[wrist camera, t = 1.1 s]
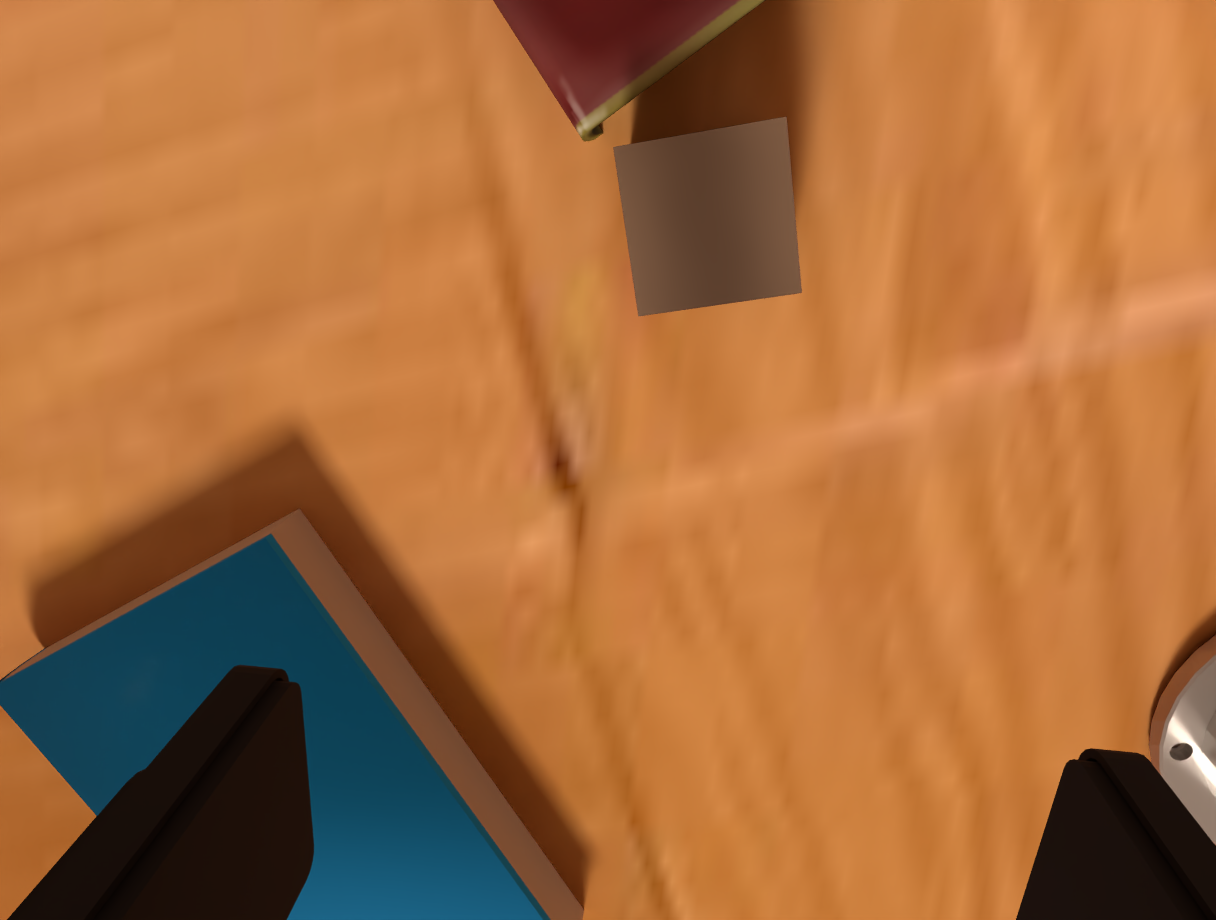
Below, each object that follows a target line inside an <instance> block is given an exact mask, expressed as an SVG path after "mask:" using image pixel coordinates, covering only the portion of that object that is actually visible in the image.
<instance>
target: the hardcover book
mask: <svg viewBox="0 0 1216 920" xmlns="http://www.w3.org/2000/svg"><path fill="white" fill-rule="evenodd" d="M493 1H494V2H495V4H496V5H497V7H498V8H499V10H500V12H501V13H502V15H503V16H504V18H505V19H506V21H507V23H508V24H509V26H510V27H511V29H512V30H513V32H514V33H515V35H516V37H517V38H518V40H519V41H520V43H521V44H522V46H523V48H524V49H525V51H526V52H527V54H528V55H529V57H530V58H531V60H532V62H533V63H534V65H535V66H536V68H537V69H538V71H539V73H540V74H541V76H542V77H543V79H544V80H545V82H546V83H547V85H548V87H549V88H550V90H551V91H552V93H553V94H554V96H555V98H556V99H557V101H558V102H559V104H560V105H561V107H562V108H563V110H564V112H565V113H566V115H567V116H568V118H569V119H570V121H571V123H572V124H573V126H574V127H575V129H576V130H577V132H578V133H579V135H580V137H581V138H582V140H583V141H591V140H594V139H596V138H597V137H598V136H600V135H601V134H603V132H602V130H601V129H600V127H599V124H600V123H602V122H603V121H604V120H606V119H607V118H608V117H610V116H611V115H612V114H614V113H615V112H616V111H618V110H619V109H620V108H622V107H623V106H624V105H626V104H627V103H628V102H630V101H631V100H632V99H634V98H635V97H636V96H638V95H639V94H640V93H642V92H643V91H645V90H646V89H647V88H649V87H650V86H651V85H653V84H654V83H655V82H657V81H658V80H659V79H661V78H662V77H663V76H665V75H666V74H667V73H669V72H670V71H671V70H673V69H674V68H675V67H677V66H678V65H679V64H681V63H682V62H683V61H685V60H686V59H687V58H689V57H690V56H691V55H693V54H694V53H695V52H697V51H698V50H699V49H701V48H702V47H704V46H705V45H706V44H708V43H709V42H710V41H712V40H713V39H714V38H716V37H717V36H718V35H720V34H721V33H722V32H724V31H725V30H726V29H728V28H729V27H730V26H732V25H733V24H734V23H736V22H737V21H738V20H740V19H741V18H742V17H744V16H745V15H746V14H748V13H749V12H750V11H752V10H753V9H754V8H756V7H757V6H758V5H760V4H761V3H763V2H764V1H765V0H493Z"/></svg>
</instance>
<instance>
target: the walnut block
mask: <svg viewBox="0 0 1216 920" xmlns="http://www.w3.org/2000/svg"><path fill="white" fill-rule="evenodd" d="M613 148H614V155H615V162H616V169H617V175H618V182H619V189H620V195H621V202H622V209H623V216H624V222H625V229H626V236H627V242H628V249H629V256H630V263H631V269H632V276H633V283H634V289H635V296H636V303H637V310H638V316H644V315H651V314H658V313H665V312H672V311H679V310H686V309H693V308H700V307H707V306H714V305H721V304H728V303H735V302H742V301H749V300H756V299H763V298H770V297H776V296H783V295H790V294H797V293H802V289H801V278H800V266H799V255H798V243H797V231H796V220H795V208H794V197H793V185H792V173H791V162H790V150H789V139H788V127H787V117H781V118H776V119H770V120H764V121H759V122H753V123H747V124H742V125H736V126H730V127H725V128H719V129H713V130H708V131H702V132H696V133H691V134H685V135H679V136H674V137H668V138H662V139H657V140H651V141H645V142H639V143H634V144H628V145H622V146H617V147H613Z"/></svg>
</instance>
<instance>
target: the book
mask: <svg viewBox="0 0 1216 920" xmlns="http://www.w3.org/2000/svg"><path fill="white" fill-rule="evenodd" d="M237 665H248V666H258V667H268V668H278V669H283V670H285V671H286V673H287V675H288V678H289V682H296V683H298V684H299V686H300V688H301V693H302V705H303V717H304V729H305V741H306V753H307V765H308V777H309V790H310V802H311V814H312V826H313V838H314V856H313V862H312V866H311V870H310V873H309V876H308V878H307V880H306V883H305V885H304V887H303V889H302V890H301V892H300V894H299V896H298V898H297V900H296V902H295V904H294V906H293V908H292V910H291V912H290V914H289V916H288V918H287V920H582V919H583V913H584V909H583V908H582V906H581V905H580V904H579V902H578V901H577V899H576V898H575V897H574V895H573V894H572V892H571V891H570V889H569V888H568V887H567V885H566V884H565V882H564V881H563V880H562V878H561V877H560V875H559V874H558V873H557V871H556V870H555V868H554V867H553V865H552V864H551V863H550V861H549V860H548V858H547V857H546V856H545V854H544V853H543V851H542V850H541V848H540V847H539V846H538V844H537V843H536V841H535V840H534V839H533V837H532V836H531V834H530V833H529V832H528V830H527V829H526V827H525V826H524V824H523V823H522V822H521V820H520V819H519V817H518V816H517V815H516V813H515V812H514V810H513V809H512V808H511V806H510V805H509V803H508V802H507V800H506V799H505V798H504V796H503V795H502V793H501V792H500V791H499V789H498V788H497V786H496V785H495V784H494V782H493V781H492V779H491V778H490V776H489V775H488V774H487V772H486V771H485V769H484V768H483V767H482V765H481V764H480V762H479V761H478V760H477V758H476V757H475V755H474V754H473V752H472V751H471V750H470V748H469V747H468V745H467V744H466V743H465V741H464V740H463V738H462V737H461V735H460V734H459V733H458V731H457V730H456V728H455V727H454V726H453V724H452V723H451V721H450V720H449V719H448V717H447V716H446V714H445V713H444V711H443V710H442V709H441V707H440V706H439V704H438V703H437V702H436V700H435V699H434V697H433V696H432V695H431V693H430V692H429V690H428V689H427V687H426V686H425V685H424V683H423V682H422V680H421V679H420V678H419V676H418V675H417V673H416V672H415V671H414V669H413V668H412V666H411V665H410V663H409V662H408V661H407V659H406V658H405V656H404V655H403V654H402V652H401V651H400V649H399V648H398V646H397V645H396V644H395V642H394V641H393V639H392V638H391V637H390V635H389V634H388V632H387V631H386V630H385V628H384V627H383V625H382V624H381V622H380V621H379V620H378V618H377V617H376V615H375V614H374V613H373V611H372V610H371V608H370V607H369V606H368V604H367V603H366V601H365V600H364V598H363V597H362V596H361V594H360V593H359V591H358V590H357V589H356V587H355V586H354V584H353V583H352V582H351V580H350V579H349V577H348V576H347V574H346V573H345V572H344V570H343V569H342V567H341V566H340V565H339V563H338V562H337V560H336V559H335V558H334V556H333V555H332V553H331V552H330V550H329V549H328V548H327V546H326V545H325V543H324V542H323V541H322V539H321V538H320V536H319V535H318V533H317V532H316V531H315V529H314V528H313V526H312V525H311V524H310V522H309V521H308V519H307V518H306V517H305V515H304V514H303V512H302V511H301V509H300V508H299V509H297V510H295V511H294V512H292V513H290V514H288V515H286V516H285V517H283V518H281V519H279V520H277V521H275V522H274V523H272V524H270V525H268V526H266V527H265V528H263V529H261V530H259V531H257V532H256V533H254V534H252V535H250V536H248V537H246V538H245V539H243V540H241V541H239V542H237V543H236V544H234V545H232V546H230V547H228V548H227V549H225V550H223V551H221V552H219V553H217V554H216V555H214V556H212V557H210V558H208V559H207V560H205V561H203V562H201V563H199V564H197V565H196V566H194V567H192V568H190V569H188V570H187V571H185V572H183V573H181V574H179V575H178V576H176V577H174V578H172V579H170V580H168V581H167V582H165V583H163V584H161V585H159V586H158V587H156V588H154V589H152V590H150V591H149V592H147V593H145V594H143V595H141V596H139V597H138V598H136V599H134V600H132V601H130V602H129V603H127V604H125V605H123V606H121V607H120V608H118V609H116V610H114V611H112V612H110V613H109V614H107V615H105V616H103V617H101V618H100V619H98V620H96V621H94V622H92V623H91V624H89V625H87V626H85V627H83V628H81V629H80V630H78V631H76V632H74V633H72V634H71V635H69V636H67V637H65V638H63V639H62V640H60V641H58V642H56V643H54V644H52V645H51V646H49V647H47V648H46V649H43V650H42V651H40V652H39V653H37V654H36V655H34V656H33V657H31V658H30V659H28V660H27V661H26V662H24V663H23V664H21V665H20V666H18V667H17V668H16V669H14V670H13V671H12V672H10V673H9V674H8V675H6V676H5V677H4V678H2V679H1V680H0V705H1V706H2V708H3V709H4V710H5V711H6V712H7V713H8V715H9V716H10V717H11V718H12V719H13V720H14V721H15V723H16V724H17V725H18V726H19V727H20V728H21V729H22V731H23V732H24V733H25V734H26V735H27V736H28V737H29V739H30V740H31V741H32V742H33V743H34V744H35V746H36V747H37V748H38V749H39V750H40V751H41V752H42V754H43V755H44V756H45V757H46V758H47V759H48V760H49V762H50V763H51V764H52V765H53V766H54V767H55V768H56V770H57V771H58V772H59V773H60V774H61V775H62V776H63V778H64V779H65V780H66V781H67V782H68V783H69V785H70V786H71V787H72V788H73V789H74V790H75V791H76V793H77V794H78V795H79V796H80V797H81V798H82V799H83V801H84V802H85V803H86V804H87V805H88V806H89V807H90V809H91V810H92V811H93V812H94V813H95V814H96V816H98V814H99V813H100V812H101V811H102V810H103V809H104V808H105V806H106V805H107V804H108V803H109V802H110V801H111V799H112V798H113V797H114V796H115V795H116V794H117V793H118V791H119V790H120V789H121V788H122V787H123V786H124V785H125V783H126V782H127V781H128V780H129V779H131V778H132V777H133V776H134V775H135V774H136V773H137V772H139V771H141V770H144V769H146V768H147V766H148V765H149V764H150V763H151V762H152V761H153V759H154V758H155V757H156V756H157V755H158V754H159V752H160V751H161V750H162V749H163V748H164V747H165V745H166V744H167V743H168V742H169V741H170V740H171V738H172V737H173V736H174V735H175V734H176V733H177V731H178V730H179V729H180V728H181V727H182V726H183V724H184V723H185V722H186V721H187V720H188V719H189V717H190V716H191V715H192V714H193V713H194V712H195V710H196V709H197V708H198V707H199V706H200V705H201V703H202V702H203V701H204V700H205V699H206V698H207V696H208V695H209V694H210V693H211V692H212V691H213V689H214V688H215V687H216V686H217V685H218V684H219V682H220V681H221V680H222V679H223V678H224V677H225V675H226V674H227V673H228V672H229V671H230V670H231V669H232V668H233V667H234V666H237Z"/></svg>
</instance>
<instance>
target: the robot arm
mask: <svg viewBox="0 0 1216 920" xmlns="http://www.w3.org/2000/svg"><path fill="white" fill-rule="evenodd" d="M1149 748H1150V756H1151V762H1150V761H1149V760H1148V759H1147V758H1146V757H1145V756H1144V755H1141V754H1139V753H1132V752H1122V751H1112V750H1102V749H1092V748H1091V749H1086V750H1085V751H1084V752H1083V753H1081V755H1080V757H1079V759H1078V760H1075V759H1074V760H1069V761H1068V762H1067V763H1066V765H1065V767H1064V770H1063V773H1062V776H1061V779H1060V782H1059V786H1058V789H1057V792H1056V795H1055V798H1054V801H1053V804H1052V808H1051V811H1050V814H1049V817H1048V820H1047V823H1046V827H1045V830H1044V833H1043V836H1042V839H1041V842H1040V846H1039V849H1038V852H1037V855H1036V858H1035V861H1034V864H1033V868H1032V871H1031V874H1030V877H1029V880H1028V883H1027V887H1026V890H1025V893H1024V896H1023V899H1022V902H1021V905H1020V909H1019V912H1018V915H1017V918H1016V920H1216V846H1215V845H1216V635H1215V636H1214V637H1212V638H1211V639H1210V640H1209V641H1207V642H1206V643H1205V644H1203V645H1202V646H1201V647H1200V648H1198V649H1197V650H1196V651H1195V652H1194V653H1193V654H1192V655H1191V656H1190V657H1189V658H1188V659H1187V660H1186V662H1185V663H1184V664H1183V665H1182V666H1181V667H1180V668H1179V669H1178V670H1177V671H1176V673H1175V674H1174V676H1173V677H1172V679H1171V680H1170V682H1169V684H1168V685H1167V687H1166V689H1165V690H1164V692H1163V693H1162V695H1161V697H1160V699H1159V702H1158V705H1157V708H1156V710H1155V713H1154V716H1153V719H1152V723H1151V732H1150V740H1149ZM313 856H314V838H313V826H312V814H311V802H310V790H309V777H308V765H307V753H306V741H305V729H304V717H303V705H302V693H301V688H300V686H299V684H298V683H296V682H289V678H288V675H287V673H286V671H285V670H283V669H278V668H268V667H258V666H248V665H237V666H234V667H233V668H232V669H231V670H230V671H229V672H228V673H227V674H226V675H225V677H224V678H223V679H222V680H221V681H220V682H219V684H218V685H217V686H216V687H215V688H214V689H213V691H212V692H211V693H210V694H209V695H208V696H207V698H206V699H205V700H204V701H203V702H202V703H201V705H200V706H199V707H198V708H197V709H196V710H195V712H194V713H193V714H192V715H191V716H190V717H189V719H188V720H187V721H186V722H185V723H184V724H183V726H182V727H181V728H180V729H179V730H178V731H177V733H176V734H175V735H174V736H173V737H172V738H171V740H170V741H169V742H168V743H167V744H166V745H165V747H164V748H163V749H162V750H161V751H160V752H159V754H158V755H157V756H156V757H155V758H154V759H153V761H152V762H151V763H150V764H149V765H148V766H147V768H146V769H144V770H141V771H139V772H137V773H136V774H135V775H134V776H133V777H132V778H131V779H129V780H128V781H127V782H126V783H125V785H124V786H123V787H122V788H121V789H120V790H119V791H118V793H117V794H116V795H115V796H114V797H113V798H112V799H111V801H110V802H109V803H108V804H107V805H106V806H105V808H104V809H103V810H102V811H101V812H100V813H99V814H98V816H97V817H96V818H95V819H94V820H93V821H92V823H91V824H90V825H89V826H88V827H87V828H86V829H85V831H84V832H83V833H82V834H81V835H80V836H79V837H78V839H77V840H76V841H75V842H74V843H73V844H72V846H71V847H70V848H69V849H68V850H67V851H66V852H65V854H64V855H63V856H62V857H61V858H60V859H59V860H58V862H57V863H56V864H55V865H54V866H53V867H52V869H51V870H50V871H49V872H48V873H47V874H46V875H45V877H44V878H43V879H42V880H41V881H40V882H39V884H38V885H37V886H36V887H35V888H34V889H33V890H32V892H31V893H30V894H29V895H28V896H27V897H26V898H25V900H24V901H23V902H22V903H21V904H20V905H19V907H18V908H17V909H16V910H15V911H14V912H13V913H12V915H11V916H10V917H9V918H8V919H7V920H287V918H288V916H289V914H290V912H291V910H292V908H293V906H294V904H295V902H296V900H297V898H298V896H299V894H300V892H301V890H302V889H303V887H304V885H305V883H306V880H307V878H308V876H309V873H310V870H311V866H312V862H313Z"/></svg>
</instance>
